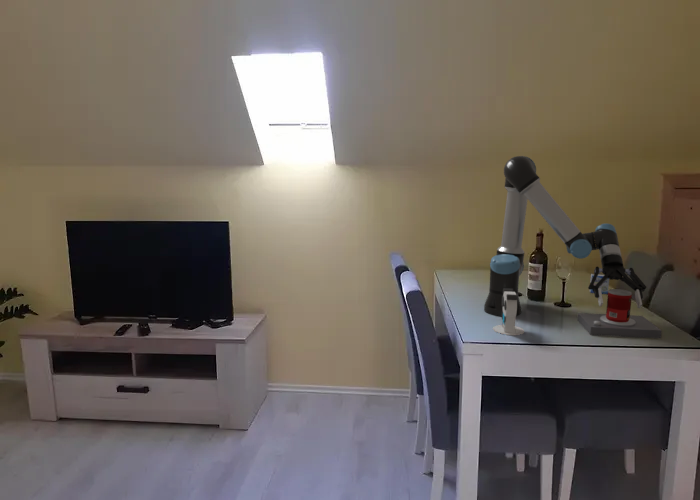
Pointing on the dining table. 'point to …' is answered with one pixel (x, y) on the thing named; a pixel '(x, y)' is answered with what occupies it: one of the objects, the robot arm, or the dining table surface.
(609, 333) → the mount
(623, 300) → the canned food
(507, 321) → the white upright stand
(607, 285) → the medicine box
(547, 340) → the dining table surface
